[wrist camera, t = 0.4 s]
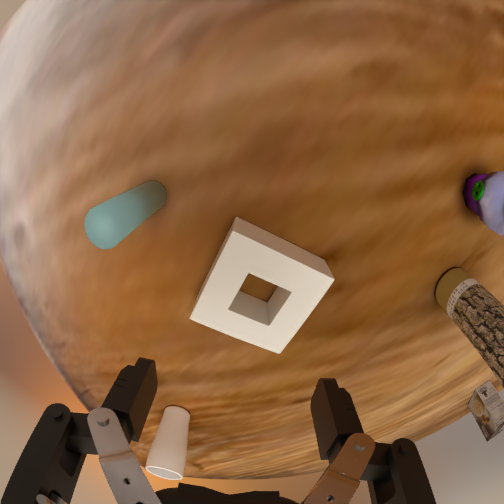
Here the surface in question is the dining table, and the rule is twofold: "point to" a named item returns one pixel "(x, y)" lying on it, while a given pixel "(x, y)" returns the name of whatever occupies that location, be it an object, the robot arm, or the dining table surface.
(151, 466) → the drinking glass
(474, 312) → the paper tube
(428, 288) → the dining table surface
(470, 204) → the potion bottle
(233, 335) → the socket block
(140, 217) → the peg
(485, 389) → the coffee box
